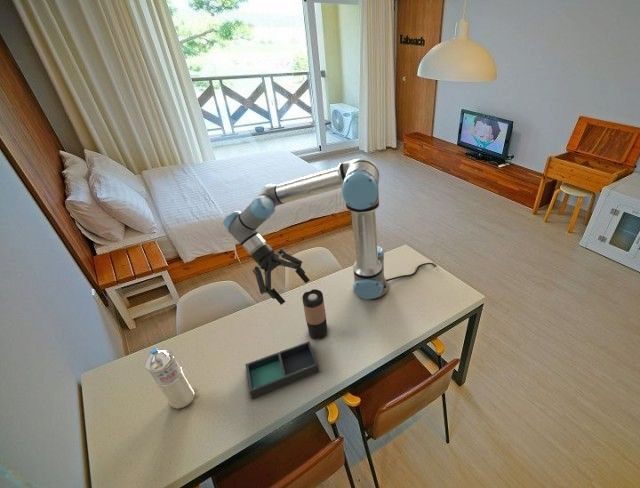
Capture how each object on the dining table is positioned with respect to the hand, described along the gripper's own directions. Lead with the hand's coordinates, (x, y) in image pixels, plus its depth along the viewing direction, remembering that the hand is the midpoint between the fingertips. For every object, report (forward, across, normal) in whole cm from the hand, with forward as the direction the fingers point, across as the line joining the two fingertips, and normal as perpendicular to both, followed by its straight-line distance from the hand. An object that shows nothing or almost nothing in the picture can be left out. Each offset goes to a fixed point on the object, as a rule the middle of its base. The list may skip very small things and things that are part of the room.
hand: (296, 292), depth 121 cm
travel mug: (+19, 0, -8) cm, 20 cm away
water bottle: (+4, +43, -22) cm, 48 cm away
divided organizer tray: (+19, +20, -7) cm, 28 cm away
